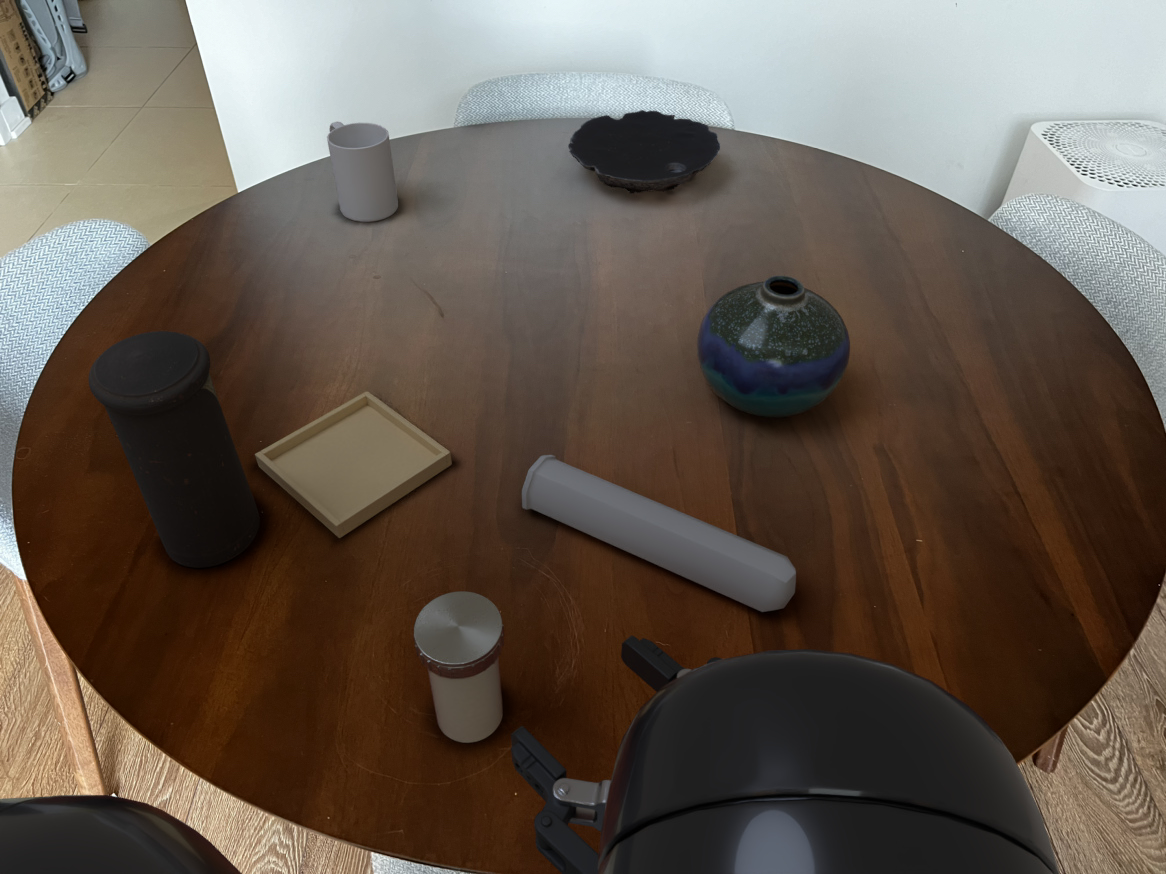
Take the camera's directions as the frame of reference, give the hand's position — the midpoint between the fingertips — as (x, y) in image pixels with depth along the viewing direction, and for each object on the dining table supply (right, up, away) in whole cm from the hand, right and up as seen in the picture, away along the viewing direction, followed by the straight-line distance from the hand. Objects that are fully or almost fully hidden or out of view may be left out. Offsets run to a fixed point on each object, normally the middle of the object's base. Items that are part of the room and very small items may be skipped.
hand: (572, 690), depth 52 cm
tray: (-21, +12, +36) cm, 44 cm away
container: (-32, +6, +30) cm, 45 cm away
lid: (-8, +1, +10) cm, 13 cm away
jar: (-8, -6, +17) cm, 20 cm away
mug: (-30, +47, +75) cm, 93 cm away
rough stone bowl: (+9, +53, +82) cm, 98 cm away
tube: (+7, +4, +29) cm, 30 cm away
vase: (+20, +19, +45) cm, 53 cm away
